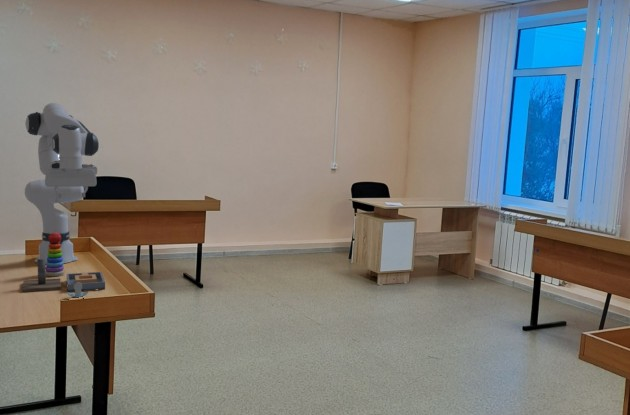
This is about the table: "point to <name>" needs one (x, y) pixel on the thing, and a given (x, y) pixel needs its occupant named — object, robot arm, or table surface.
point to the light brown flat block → (85, 278)
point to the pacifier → (77, 291)
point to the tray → (86, 286)
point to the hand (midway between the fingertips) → (71, 197)
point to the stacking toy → (54, 256)
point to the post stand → (41, 281)
